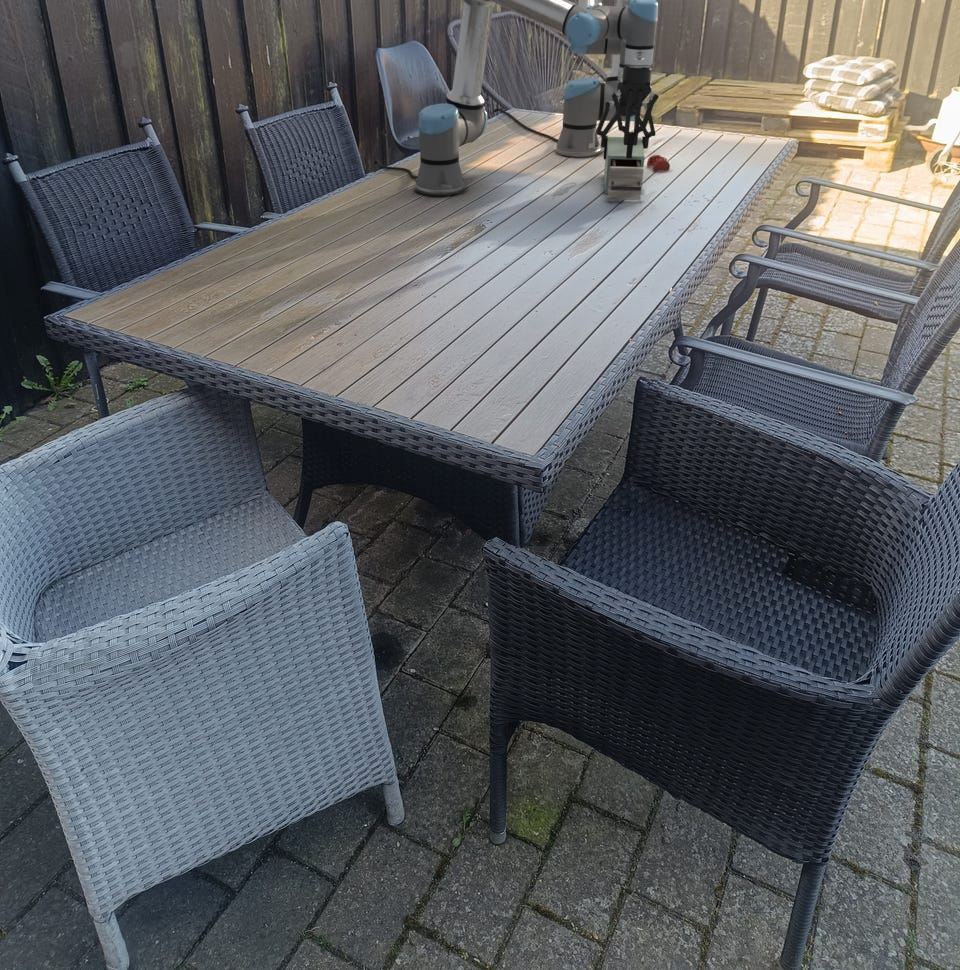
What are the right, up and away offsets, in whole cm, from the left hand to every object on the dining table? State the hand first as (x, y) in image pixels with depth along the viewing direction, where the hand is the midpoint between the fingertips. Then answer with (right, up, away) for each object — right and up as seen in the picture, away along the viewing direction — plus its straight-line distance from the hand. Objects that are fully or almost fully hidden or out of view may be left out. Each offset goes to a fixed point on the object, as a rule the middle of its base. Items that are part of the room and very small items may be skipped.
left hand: (628, 157), depth 239 cm
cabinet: (+2, +1, +24) cm, 24 cm away
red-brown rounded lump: (+16, +11, +38) cm, 43 cm away
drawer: (+1, -5, +15) cm, 15 cm away
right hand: (+3, +9, +25) cm, 27 cm away
